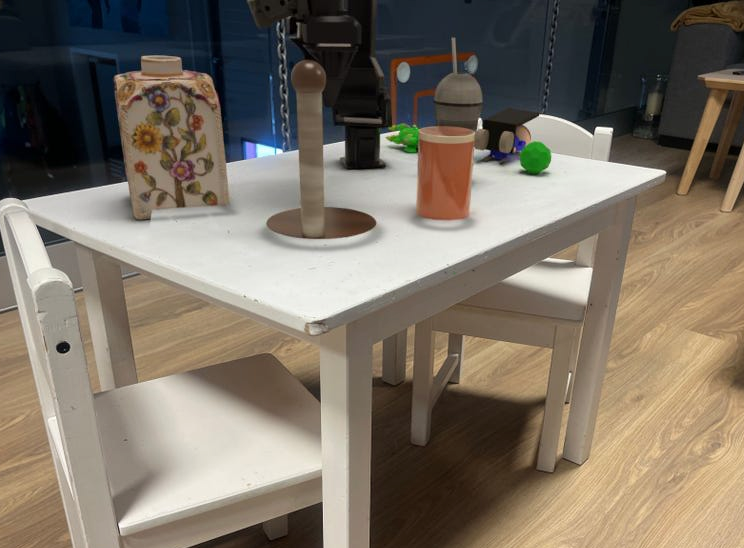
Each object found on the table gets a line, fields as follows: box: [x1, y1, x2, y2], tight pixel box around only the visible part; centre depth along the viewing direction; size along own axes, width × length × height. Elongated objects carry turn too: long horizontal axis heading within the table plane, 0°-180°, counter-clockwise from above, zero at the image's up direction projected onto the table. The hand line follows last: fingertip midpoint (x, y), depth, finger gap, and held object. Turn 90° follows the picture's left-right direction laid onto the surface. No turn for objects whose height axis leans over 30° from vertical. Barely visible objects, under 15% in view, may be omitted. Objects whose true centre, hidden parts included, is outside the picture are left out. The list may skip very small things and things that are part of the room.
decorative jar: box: [113, 55, 230, 221], centre depth 90 cm, size 12×12×18 cm
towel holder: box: [265, 59, 377, 240], centre depth 81 cm, size 13×13×19 cm
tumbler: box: [415, 125, 476, 221], centre depth 88 cm, size 7×7×11 cm
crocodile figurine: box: [385, 122, 420, 153], centre depth 128 cm, size 7×18×4 cm, turn 56°
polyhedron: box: [518, 140, 552, 175], centre depth 115 cm, size 5×5×5 cm
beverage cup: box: [432, 37, 484, 145], centre depth 105 cm, size 7×7×20 cm
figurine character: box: [474, 107, 540, 164], centre depth 125 cm, size 7×8×15 cm
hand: (322, 101), depth 91 cm, fingers open, 9 cm apart
